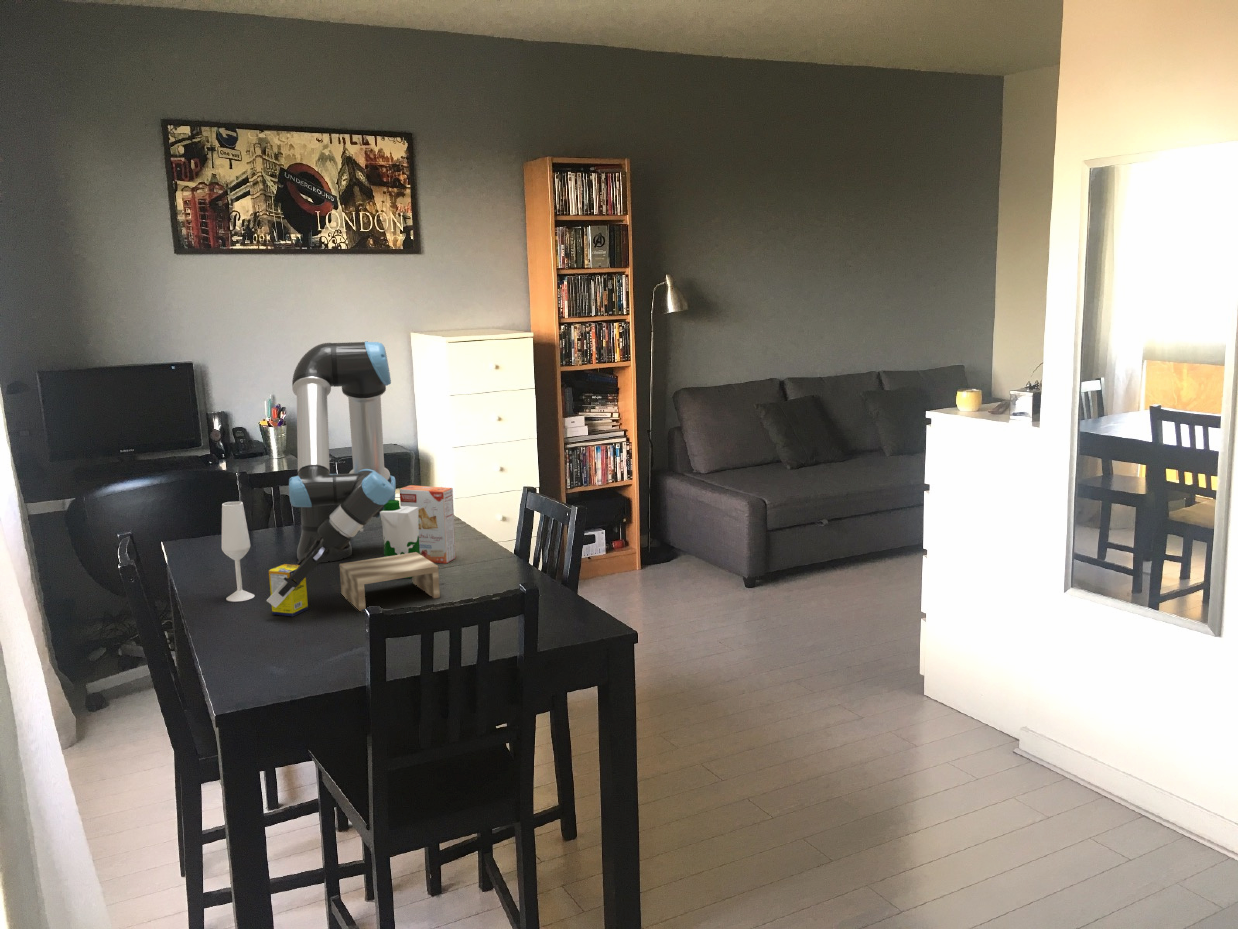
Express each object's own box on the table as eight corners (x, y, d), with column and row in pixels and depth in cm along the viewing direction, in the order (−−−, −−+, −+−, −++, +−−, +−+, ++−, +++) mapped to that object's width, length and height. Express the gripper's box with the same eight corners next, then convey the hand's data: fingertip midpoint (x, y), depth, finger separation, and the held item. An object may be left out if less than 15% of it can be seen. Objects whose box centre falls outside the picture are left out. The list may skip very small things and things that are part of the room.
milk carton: (394, 569, 265) (390, 497, 262) (425, 570, 264) (421, 498, 260) (380, 578, 257) (376, 504, 254) (412, 579, 255) (408, 505, 252)
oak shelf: (341, 594, 243) (339, 563, 242) (418, 581, 253) (416, 552, 252) (359, 611, 230) (357, 579, 228) (439, 597, 240) (438, 566, 238)
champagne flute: (226, 595, 244) (218, 502, 240) (254, 592, 247) (247, 499, 242) (225, 602, 238) (217, 507, 234) (254, 599, 240) (247, 505, 236)
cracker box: (402, 560, 274) (398, 488, 270) (413, 555, 279) (409, 484, 276) (446, 564, 269) (442, 490, 266) (456, 559, 275) (453, 486, 271)
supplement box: (308, 609, 232) (305, 565, 230) (292, 617, 226) (289, 572, 225) (288, 607, 234) (284, 563, 232) (271, 614, 228) (268, 570, 226)
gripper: (349, 549, 220) (280, 622, 220) (355, 528, 240) (292, 595, 240) (323, 527, 218) (253, 601, 218) (332, 508, 238) (268, 576, 238)
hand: (274, 598), depth 229 cm, fingers closed on supplement box, 8 cm apart
